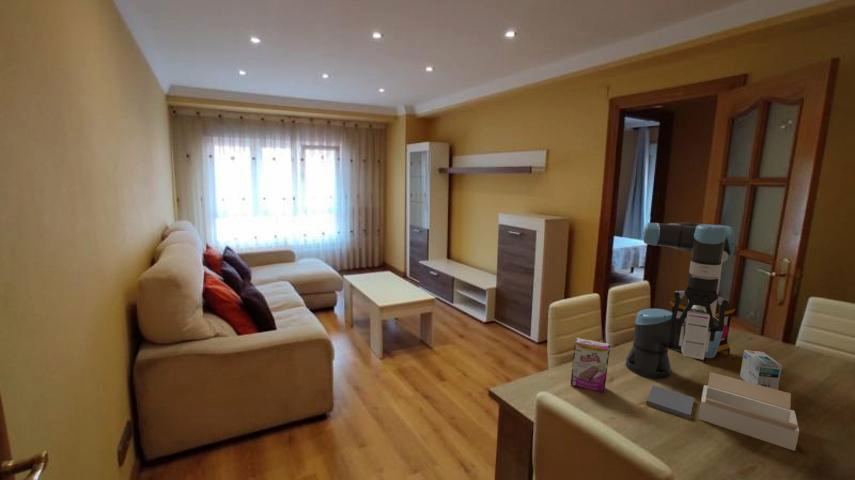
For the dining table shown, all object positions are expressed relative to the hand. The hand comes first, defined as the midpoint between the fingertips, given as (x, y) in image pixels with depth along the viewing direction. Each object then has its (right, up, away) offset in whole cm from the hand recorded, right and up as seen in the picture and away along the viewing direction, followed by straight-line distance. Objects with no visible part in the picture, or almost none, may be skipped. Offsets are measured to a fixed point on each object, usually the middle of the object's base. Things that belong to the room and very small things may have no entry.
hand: (693, 346), depth 124 cm
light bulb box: (+35, -19, +18) cm, 44 cm away
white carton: (+12, -22, -5) cm, 26 cm away
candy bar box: (-27, -18, +14) cm, 36 cm away
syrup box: (0, -3, 0) cm, 3 cm away
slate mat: (-4, -20, +5) cm, 21 cm away
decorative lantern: (+30, -14, +44) cm, 55 cm away
